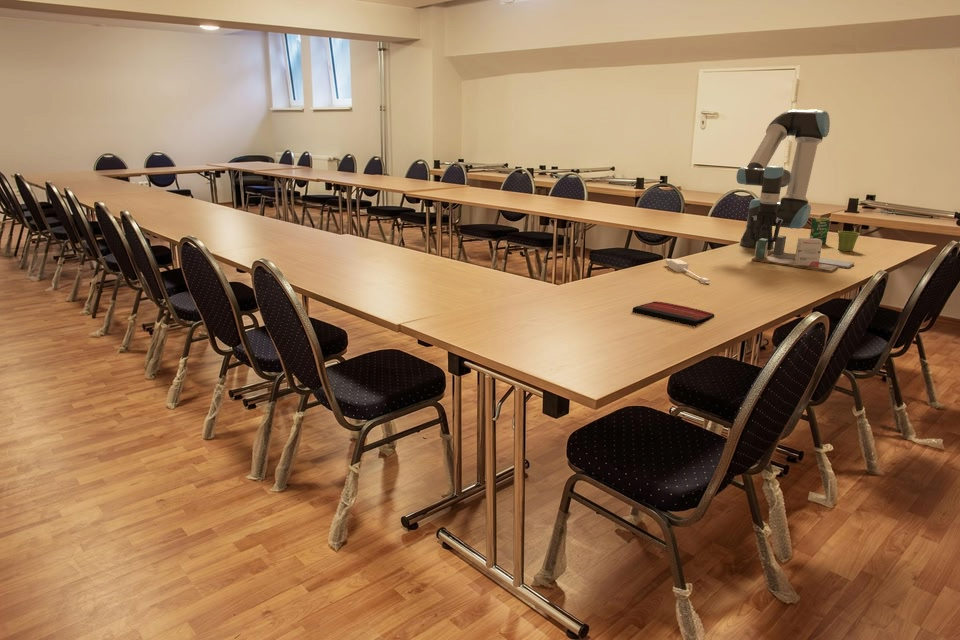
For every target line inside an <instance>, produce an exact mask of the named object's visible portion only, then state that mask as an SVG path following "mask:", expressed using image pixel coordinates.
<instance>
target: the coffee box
mask: <svg viewBox="0 0 960 640" xmlns="http://www.w3.org/2000/svg"><path fill="white" fill-rule="evenodd" d="M830 220H831V219H830V218H829V217H812V222H811V228H810V233H809V238H810V239H820V240H822V245H826V244H827V243H826V242H827V238H828V232H829V226H830Z"/></svg>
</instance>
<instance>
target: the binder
mask: <svg viewBox="0 0 960 640" xmlns="http://www.w3.org/2000/svg"><path fill="white" fill-rule="evenodd" d="M632 313H634V314H636V315H637V314H638V315H642V316H646V317H650V318H656V319H660V320H663V321H669V322H673V323H678V324H682V325H687V326H690V327H695V328H696V327H697V323H699V325H702V324H704V323H706V322H708V321H709V320H711V319H713V318H714V317H715V314H714V313H712V312H709V311H706V310H701V309H698V308H693V307H690V306H685V305H679V304H675V303H674V304H673V303H669V302H662V301H651V302H646V303H643V304H640V305H636V306H634V307H632Z"/></svg>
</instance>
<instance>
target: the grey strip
mask: <svg viewBox="0 0 960 640" xmlns="http://www.w3.org/2000/svg"><path fill="white" fill-rule="evenodd" d="M786 240H787V236H786V235H778V238H777V241H775V242H774V245H773V252H772V254H769V256H771V257H777V258H784V259H791V260H795V256H796V253H791V252H790V253H788V252H785V247H786ZM819 264H825V265H832V266H838V268H844V269H850V268H851V267H852V266H854V265H855V262H851V261H846V260H840V259H839V260H838V259H832V258H825V257H820V259H819Z"/></svg>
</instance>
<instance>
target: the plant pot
mask: <svg viewBox="0 0 960 640" xmlns="http://www.w3.org/2000/svg"><path fill="white" fill-rule="evenodd" d="M837 233H838V234H837V235H838V250H839V251H840V252H841V251H843V252H853V250H854V247H855V245H856V242H857V240H858V238H859V236H860V234H861V233H859V232H856V231H845V230H838V231H837Z"/></svg>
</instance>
